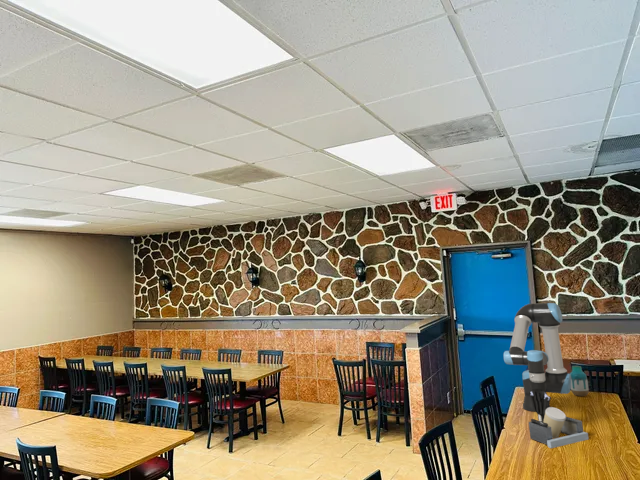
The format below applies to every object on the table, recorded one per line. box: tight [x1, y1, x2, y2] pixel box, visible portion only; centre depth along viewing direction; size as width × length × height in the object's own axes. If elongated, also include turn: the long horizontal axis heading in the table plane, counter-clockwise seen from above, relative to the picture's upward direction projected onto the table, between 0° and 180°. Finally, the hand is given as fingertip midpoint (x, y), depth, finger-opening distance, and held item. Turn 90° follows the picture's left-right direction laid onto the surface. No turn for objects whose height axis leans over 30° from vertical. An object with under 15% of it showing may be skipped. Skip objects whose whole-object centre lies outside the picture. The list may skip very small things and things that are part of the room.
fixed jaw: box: [560, 416, 584, 436], centre depth 220 cm, size 11×4×8 cm, turn 19°
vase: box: [569, 365, 590, 397], centre depth 291 cm, size 11×11×19 cm
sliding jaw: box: [528, 418, 554, 445], centre depth 214 cm, size 11×4×10 cm, turn 19°
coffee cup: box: [543, 406, 567, 439], centre depth 219 cm, size 9×9×12 cm
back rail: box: [546, 431, 589, 449], centre depth 210 cm, size 2×24×3 cm, turn 109°
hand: (542, 427), depth 225 cm, fingers closed
